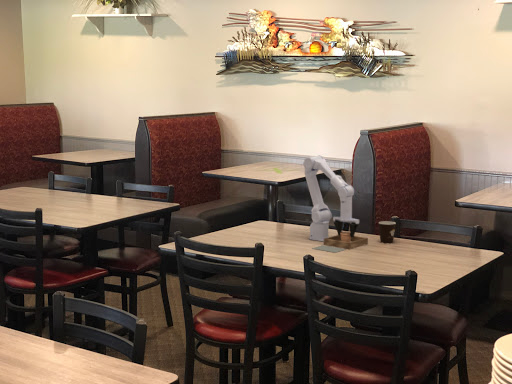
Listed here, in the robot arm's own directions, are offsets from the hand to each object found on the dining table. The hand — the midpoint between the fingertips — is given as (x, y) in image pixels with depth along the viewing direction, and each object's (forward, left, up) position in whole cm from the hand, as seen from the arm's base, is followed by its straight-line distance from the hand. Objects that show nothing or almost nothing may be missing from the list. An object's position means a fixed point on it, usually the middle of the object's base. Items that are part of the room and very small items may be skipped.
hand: (346, 236), depth 344 cm
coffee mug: (+14, +19, -4) cm, 24 cm away
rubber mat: (0, -14, -4) cm, 15 cm away
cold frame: (0, 0, -4) cm, 4 cm away
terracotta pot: (0, 0, -4) cm, 4 cm away
